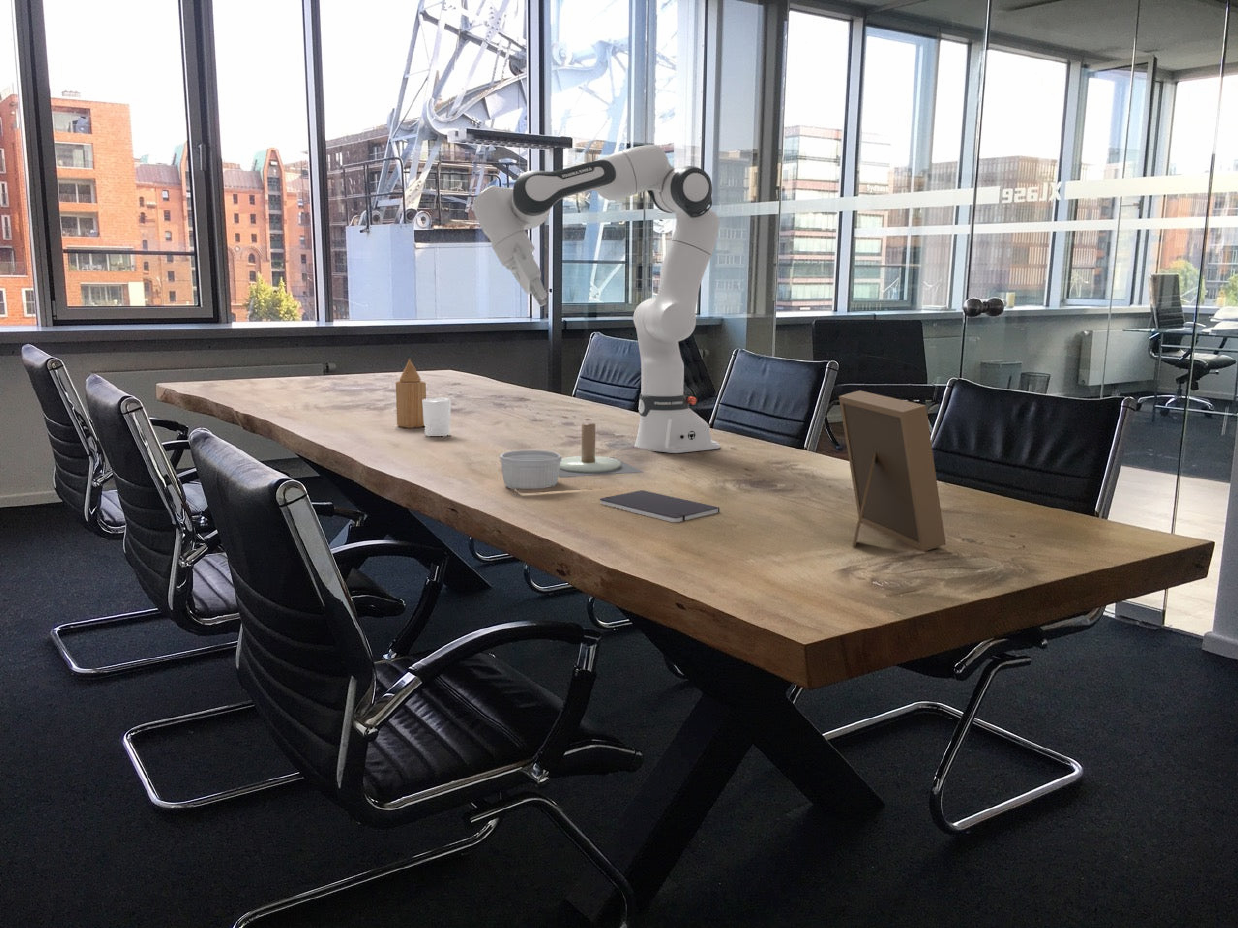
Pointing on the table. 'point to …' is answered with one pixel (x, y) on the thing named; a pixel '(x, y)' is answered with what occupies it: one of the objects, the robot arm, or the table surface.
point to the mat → (623, 469)
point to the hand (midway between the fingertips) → (544, 301)
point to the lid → (589, 456)
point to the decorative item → (410, 398)
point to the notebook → (659, 506)
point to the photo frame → (893, 468)
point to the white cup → (436, 416)
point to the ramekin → (530, 468)
